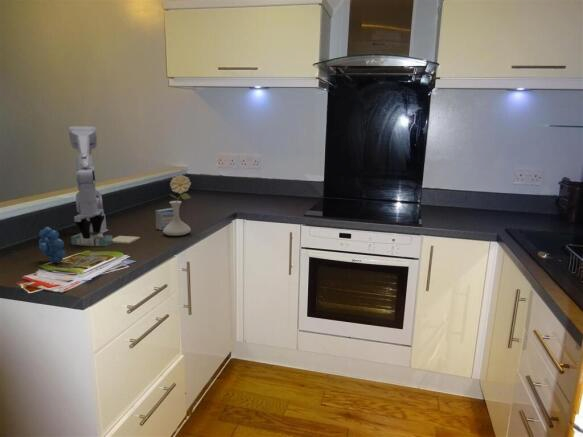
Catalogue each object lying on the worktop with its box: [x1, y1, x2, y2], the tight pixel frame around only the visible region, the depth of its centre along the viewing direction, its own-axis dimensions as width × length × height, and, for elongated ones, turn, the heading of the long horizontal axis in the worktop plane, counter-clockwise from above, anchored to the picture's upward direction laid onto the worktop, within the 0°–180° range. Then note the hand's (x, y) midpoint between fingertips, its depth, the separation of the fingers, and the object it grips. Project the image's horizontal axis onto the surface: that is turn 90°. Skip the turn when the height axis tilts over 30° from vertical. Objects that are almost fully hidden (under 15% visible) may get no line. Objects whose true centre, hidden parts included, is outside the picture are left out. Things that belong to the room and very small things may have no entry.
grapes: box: [38, 226, 66, 263], centre depth 139 cm, size 12×7×12 cm, turn 62°
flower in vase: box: [162, 174, 192, 237], centre depth 175 cm, size 13×11×25 cm
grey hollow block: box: [80, 232, 104, 247], centre depth 163 cm, size 6×6×4 cm
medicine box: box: [154, 207, 173, 231], centre depth 187 cm, size 8×4×9 cm, turn 137°
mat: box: [112, 235, 141, 245], centre depth 169 cm, size 8×9×1 cm
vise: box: [70, 233, 114, 247], centre depth 163 cm, size 5×14×3 cm, turn 79°
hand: (91, 236), depth 163 cm, fingers closed on grey hollow block, 6 cm apart
